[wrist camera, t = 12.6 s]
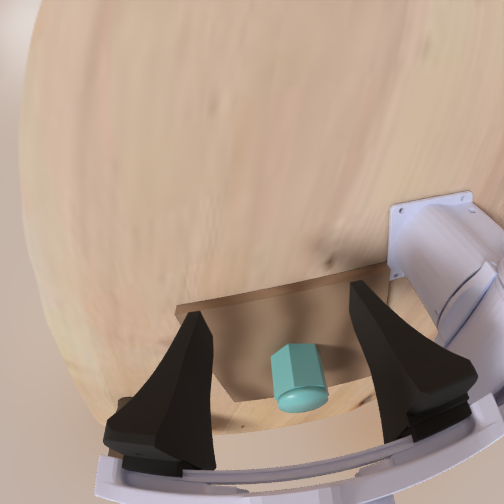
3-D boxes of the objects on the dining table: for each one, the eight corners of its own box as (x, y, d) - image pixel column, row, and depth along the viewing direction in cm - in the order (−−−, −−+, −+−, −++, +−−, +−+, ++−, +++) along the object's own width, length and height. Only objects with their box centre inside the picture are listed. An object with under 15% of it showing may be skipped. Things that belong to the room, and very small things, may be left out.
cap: (311, 336, 27) (321, 386, 23) (322, 361, 31) (332, 405, 26) (265, 350, 28) (269, 400, 24) (283, 373, 32) (288, 417, 27)
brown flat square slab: (385, 261, 24) (390, 270, 23) (369, 368, 35) (372, 375, 34) (176, 305, 26) (174, 314, 25) (234, 395, 37) (234, 402, 36)
